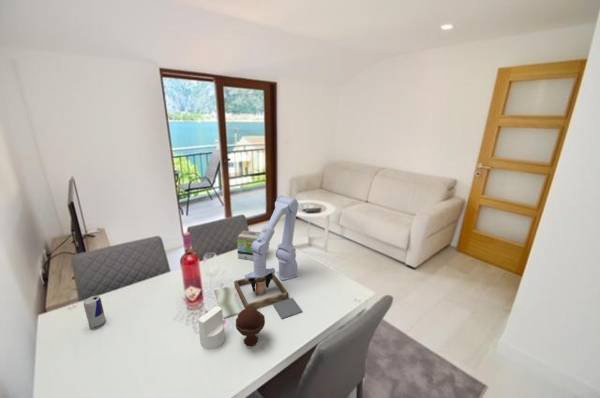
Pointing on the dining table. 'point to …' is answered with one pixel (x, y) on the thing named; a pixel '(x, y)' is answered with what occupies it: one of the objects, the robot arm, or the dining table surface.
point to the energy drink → (94, 312)
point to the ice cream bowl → (250, 325)
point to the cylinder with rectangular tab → (212, 329)
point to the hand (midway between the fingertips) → (260, 288)
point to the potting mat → (287, 308)
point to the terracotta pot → (260, 285)
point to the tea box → (246, 244)
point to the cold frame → (231, 304)
